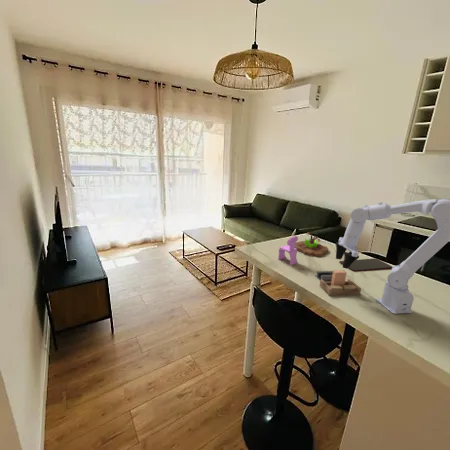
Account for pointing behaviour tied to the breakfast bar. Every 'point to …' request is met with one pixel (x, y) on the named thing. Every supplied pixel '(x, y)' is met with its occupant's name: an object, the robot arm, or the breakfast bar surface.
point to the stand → (324, 275)
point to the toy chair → (289, 250)
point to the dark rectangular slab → (368, 265)
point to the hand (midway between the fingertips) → (341, 263)
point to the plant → (311, 247)
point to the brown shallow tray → (340, 292)
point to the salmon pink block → (338, 277)
